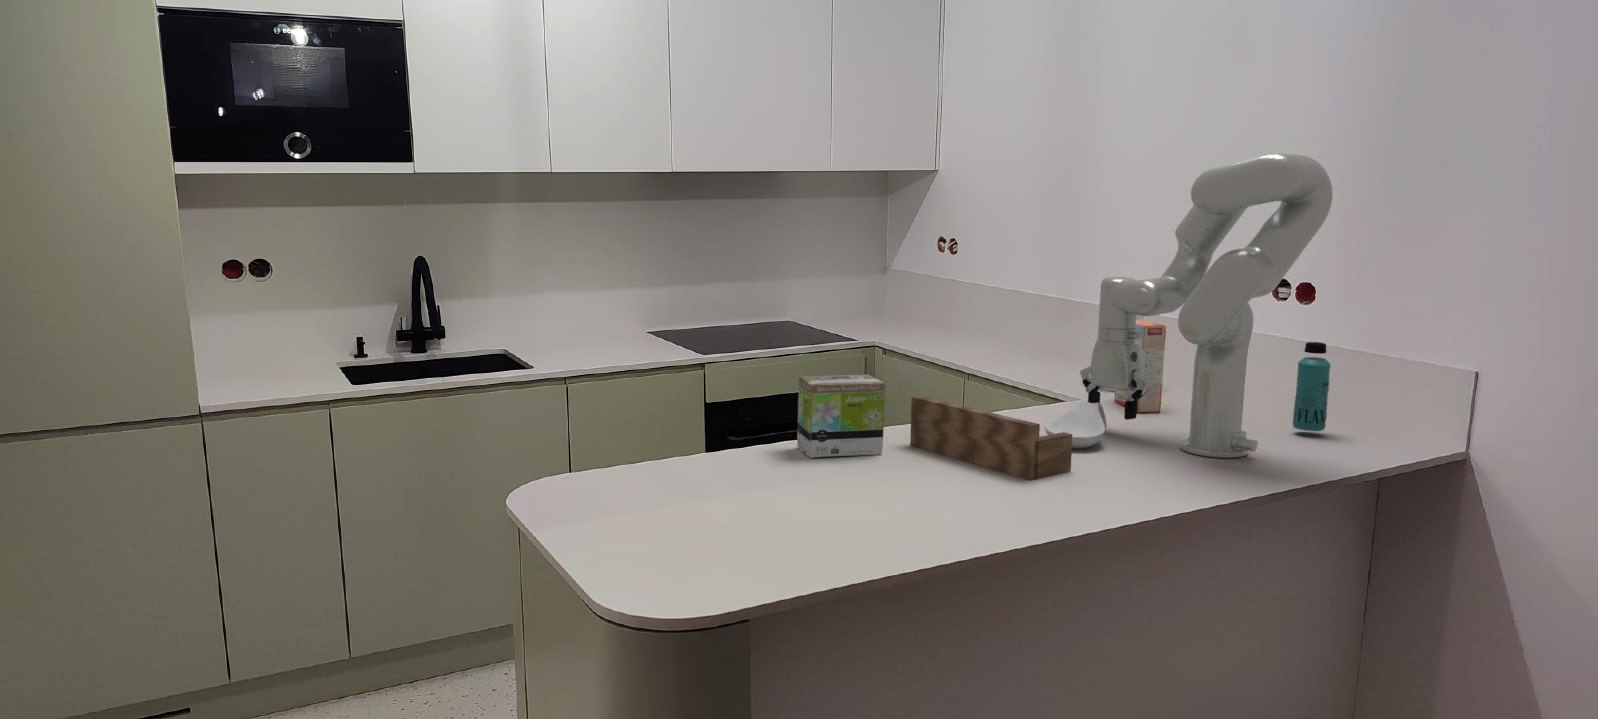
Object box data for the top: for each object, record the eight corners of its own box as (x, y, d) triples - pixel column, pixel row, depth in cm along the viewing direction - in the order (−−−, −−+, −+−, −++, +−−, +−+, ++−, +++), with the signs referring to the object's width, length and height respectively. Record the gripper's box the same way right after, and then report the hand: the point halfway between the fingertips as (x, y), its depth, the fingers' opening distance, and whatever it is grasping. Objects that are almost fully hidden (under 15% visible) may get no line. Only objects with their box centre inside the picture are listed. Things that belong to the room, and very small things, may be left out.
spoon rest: (1096, 455, 203) (1098, 420, 202) (1037, 448, 208) (1038, 413, 207) (1121, 432, 223) (1123, 399, 222) (1067, 426, 229) (1068, 394, 228)
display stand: (1070, 471, 191) (1073, 418, 189) (1029, 480, 184) (1032, 425, 183) (949, 437, 217) (951, 391, 215) (910, 445, 210) (911, 396, 209)
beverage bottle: (1290, 436, 220) (1298, 343, 217) (1292, 430, 226) (1299, 339, 223) (1324, 439, 217) (1333, 345, 214) (1325, 433, 223) (1333, 341, 220)
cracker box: (1162, 413, 243) (1167, 324, 240) (1137, 413, 242) (1142, 325, 239) (1136, 401, 257) (1141, 317, 253) (1113, 401, 256) (1118, 318, 253)
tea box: (810, 460, 198) (811, 384, 196) (796, 447, 208) (797, 375, 205) (884, 455, 202) (885, 380, 200) (867, 443, 212) (868, 372, 209)
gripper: (1162, 339, 214) (1156, 420, 217) (1095, 329, 228) (1091, 405, 231) (1139, 342, 210) (1133, 424, 213) (1072, 332, 224) (1068, 409, 227)
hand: (1111, 414), depth 222 cm, fingers open, 9 cm apart
